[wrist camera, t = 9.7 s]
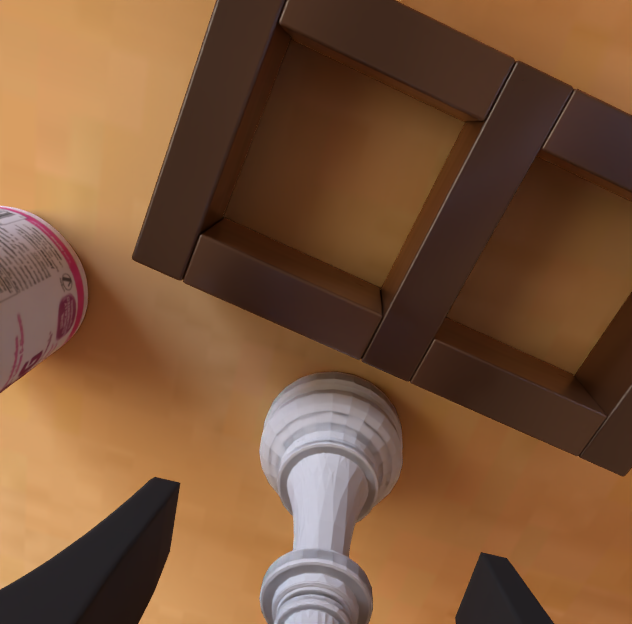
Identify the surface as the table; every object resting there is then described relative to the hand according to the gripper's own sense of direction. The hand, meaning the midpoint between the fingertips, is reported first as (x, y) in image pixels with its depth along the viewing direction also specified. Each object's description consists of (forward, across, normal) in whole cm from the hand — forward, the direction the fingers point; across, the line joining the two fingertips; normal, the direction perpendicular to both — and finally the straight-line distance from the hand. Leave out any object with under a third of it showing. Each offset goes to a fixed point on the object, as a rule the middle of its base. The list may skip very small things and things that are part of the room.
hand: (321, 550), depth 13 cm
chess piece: (+6, 0, 0) cm, 6 cm away
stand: (+5, -2, -7) cm, 9 cm away
